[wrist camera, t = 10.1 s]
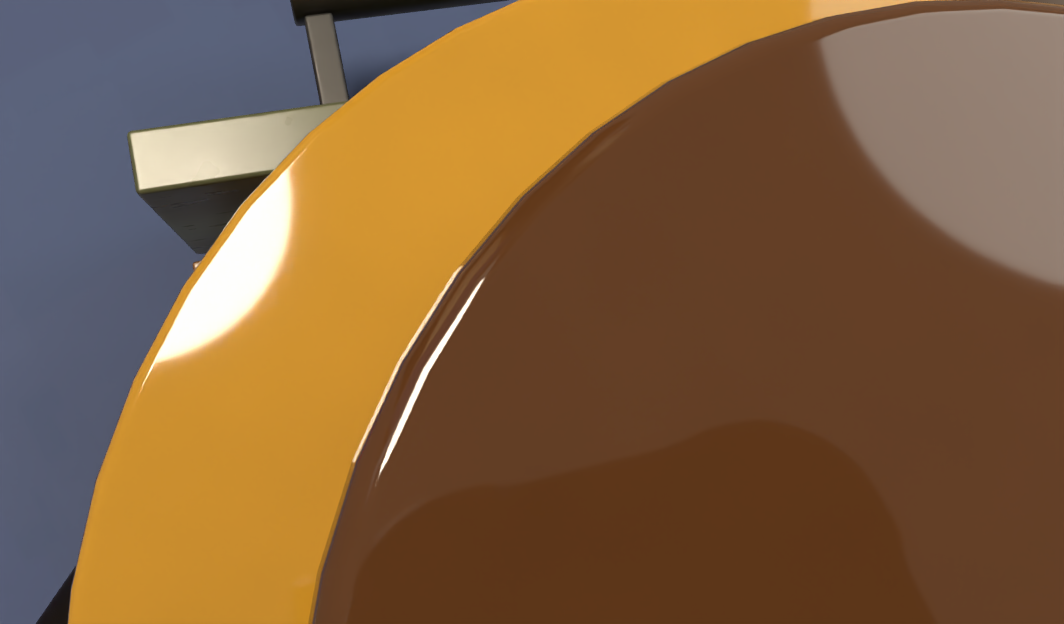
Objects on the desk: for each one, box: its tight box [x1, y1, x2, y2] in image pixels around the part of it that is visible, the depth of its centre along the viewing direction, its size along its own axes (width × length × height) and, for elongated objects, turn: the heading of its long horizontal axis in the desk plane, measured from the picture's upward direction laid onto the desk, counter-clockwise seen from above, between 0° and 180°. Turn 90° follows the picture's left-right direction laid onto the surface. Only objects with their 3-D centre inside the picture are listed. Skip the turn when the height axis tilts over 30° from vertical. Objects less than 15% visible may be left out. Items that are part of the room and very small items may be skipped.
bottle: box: [68, 0, 1064, 624], centre depth 8 cm, size 6×6×11 cm
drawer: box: [127, 0, 507, 270], centre depth 18 cm, size 19×12×5 cm, turn 13°
